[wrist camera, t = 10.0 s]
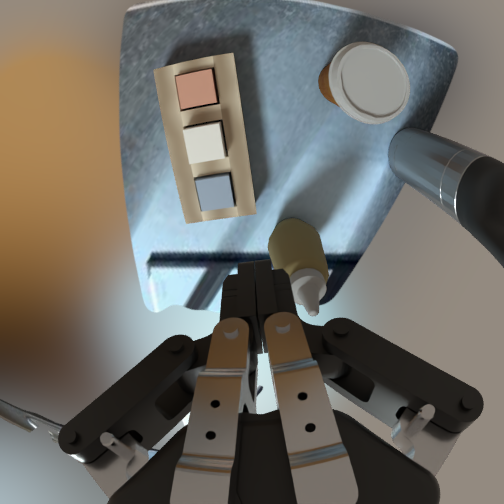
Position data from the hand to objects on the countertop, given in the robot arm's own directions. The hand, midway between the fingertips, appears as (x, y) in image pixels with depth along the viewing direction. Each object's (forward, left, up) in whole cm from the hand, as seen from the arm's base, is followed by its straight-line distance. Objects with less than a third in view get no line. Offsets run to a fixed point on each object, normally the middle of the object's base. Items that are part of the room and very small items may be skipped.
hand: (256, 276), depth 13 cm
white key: (+5, -3, -26) cm, 27 cm away
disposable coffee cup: (-14, -9, -29) cm, 34 cm away
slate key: (+5, +4, -28) cm, 28 cm away
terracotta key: (+5, -10, -28) cm, 30 cm away
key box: (+5, -3, -29) cm, 30 cm away
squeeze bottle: (-5, +14, -29) cm, 33 cm away
